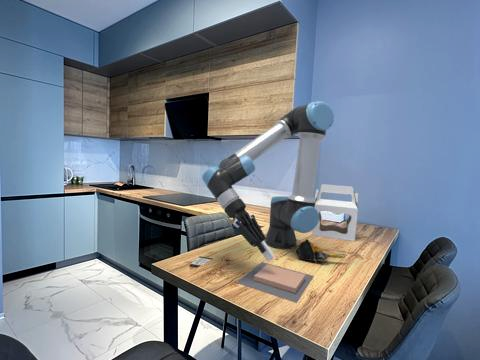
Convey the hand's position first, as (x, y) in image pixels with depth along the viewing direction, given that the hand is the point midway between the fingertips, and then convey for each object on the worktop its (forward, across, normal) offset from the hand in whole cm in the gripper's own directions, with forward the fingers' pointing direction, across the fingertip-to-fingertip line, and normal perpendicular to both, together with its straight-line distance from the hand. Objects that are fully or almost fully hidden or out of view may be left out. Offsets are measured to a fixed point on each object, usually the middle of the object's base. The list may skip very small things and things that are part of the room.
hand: (271, 259), depth 86 cm
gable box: (+11, -69, 0) cm, 70 cm away
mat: (+7, 0, -3) cm, 7 cm away
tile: (+1, 0, -6) cm, 7 cm away
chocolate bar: (-9, +2, -20) cm, 22 cm away
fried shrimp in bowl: (+12, -26, +2) cm, 29 cm away
